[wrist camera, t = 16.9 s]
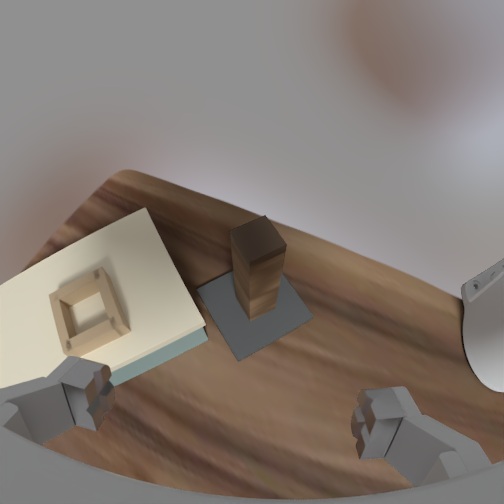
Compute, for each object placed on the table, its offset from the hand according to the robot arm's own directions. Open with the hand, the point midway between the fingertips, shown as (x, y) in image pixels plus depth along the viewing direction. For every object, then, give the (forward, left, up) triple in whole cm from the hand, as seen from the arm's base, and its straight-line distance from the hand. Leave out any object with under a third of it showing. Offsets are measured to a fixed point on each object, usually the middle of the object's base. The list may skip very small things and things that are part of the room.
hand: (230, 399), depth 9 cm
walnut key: (-7, -10, -21) cm, 24 cm away
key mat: (-7, -10, -21) cm, 24 cm away
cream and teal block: (+10, -16, -21) cm, 28 cm away
